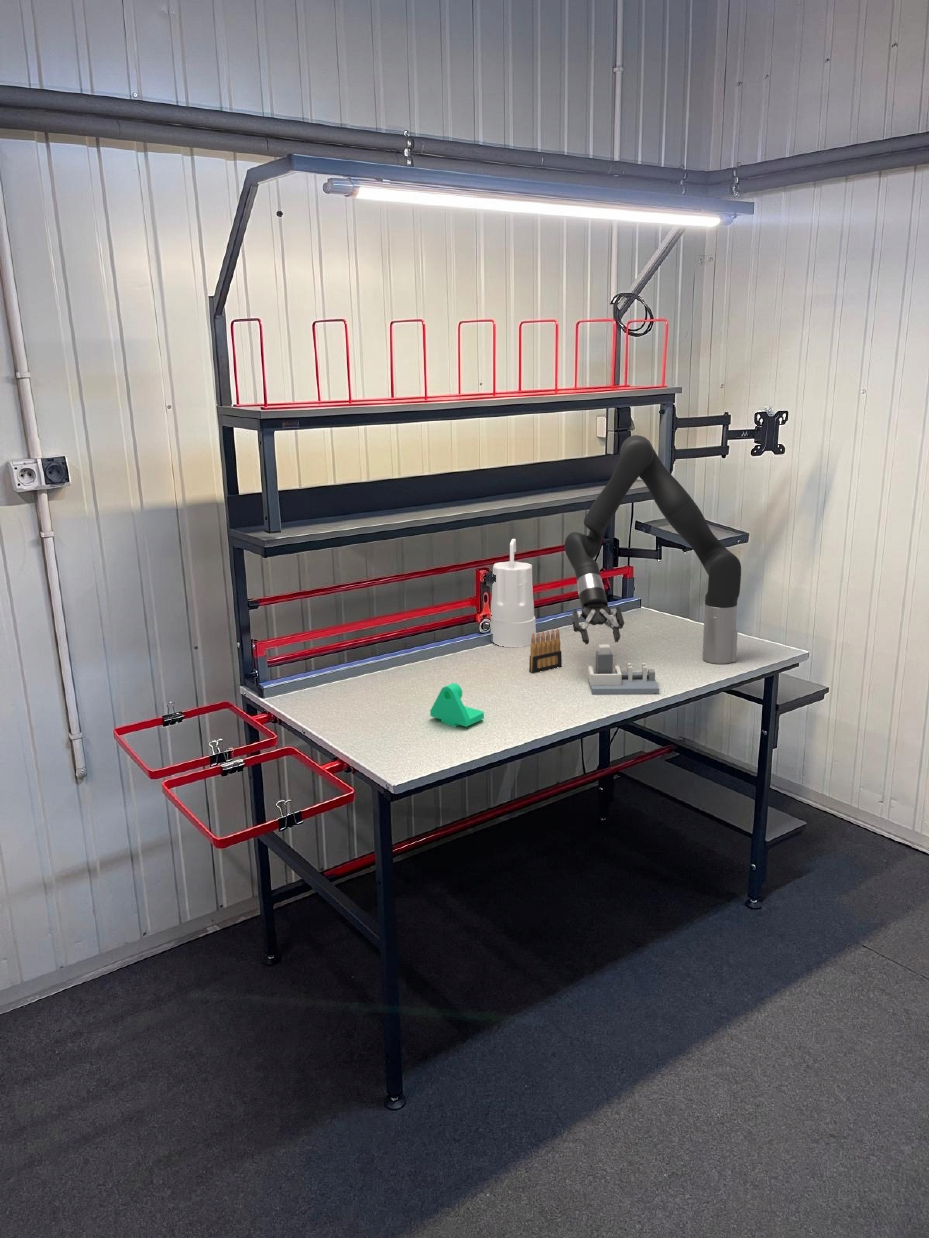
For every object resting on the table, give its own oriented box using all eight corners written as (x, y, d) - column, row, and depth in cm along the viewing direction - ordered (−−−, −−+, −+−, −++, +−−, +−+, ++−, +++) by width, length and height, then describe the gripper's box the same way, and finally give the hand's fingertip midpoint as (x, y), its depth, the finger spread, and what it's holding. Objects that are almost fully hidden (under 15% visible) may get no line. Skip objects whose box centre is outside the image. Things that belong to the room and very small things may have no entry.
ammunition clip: (532, 673, 264) (532, 634, 261) (529, 671, 265) (528, 632, 262) (562, 666, 269) (562, 628, 266) (558, 665, 271) (558, 626, 268)
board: (651, 677, 258) (652, 658, 256) (658, 694, 244) (659, 674, 243) (587, 677, 259) (587, 659, 257) (591, 694, 245) (591, 674, 244)
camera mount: (485, 721, 229) (484, 683, 226) (466, 730, 223) (465, 691, 220) (450, 711, 236) (449, 674, 234) (430, 720, 231) (429, 682, 228)
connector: (609, 677, 253) (610, 643, 251) (612, 682, 250) (612, 647, 247) (595, 678, 253) (595, 644, 251) (597, 682, 249) (598, 648, 247)
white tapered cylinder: (488, 634, 304) (487, 537, 295) (533, 633, 305) (532, 535, 296) (492, 648, 289) (490, 545, 281) (538, 646, 290) (538, 544, 281)
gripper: (569, 587, 256) (579, 637, 248) (618, 584, 258) (629, 633, 250) (565, 601, 263) (575, 650, 255) (613, 598, 264) (624, 646, 256)
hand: (602, 642), depth 252 cm, fingers open, 8 cm apart
